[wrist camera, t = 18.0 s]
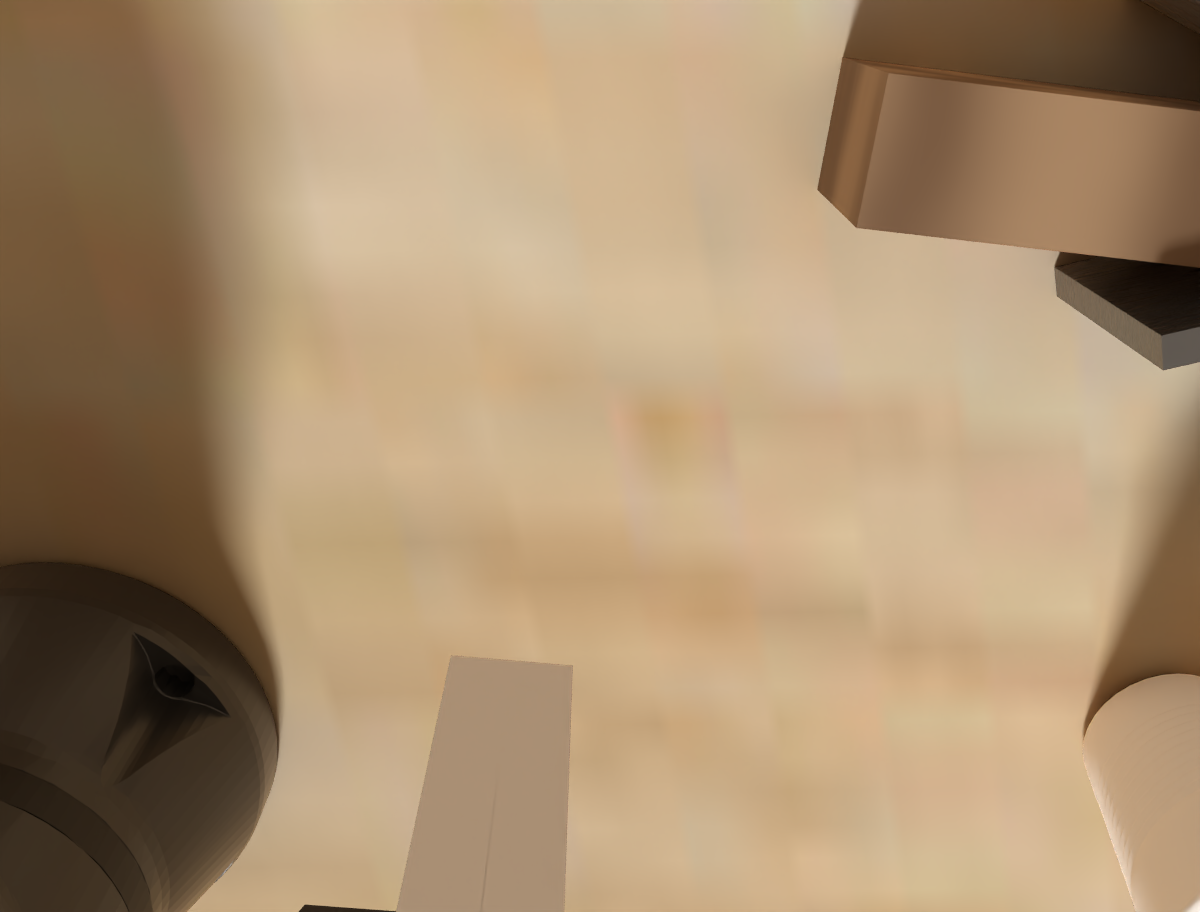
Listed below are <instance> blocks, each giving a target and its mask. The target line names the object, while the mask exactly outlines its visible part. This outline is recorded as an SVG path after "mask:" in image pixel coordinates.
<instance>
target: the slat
mask: <svg viewBox="0 0 1200 912" xmlns="http://www.w3.org/2000/svg"><path fill="white" fill-rule="evenodd" d="M817 190H818V191H819V192H820V193H821V194H822V195H823V196H824V197H825V198H826V199H827V200H828V201H830V202H831V203H832V204H833V205H834V206H835V207H836V208H837V209H838V210H839V211H840V212H841V213H842V214H843V215H844V216H845V217H846V218H847V219H848V220H849V221H850V222H851V223H852V224H853V225H854V226H855V227H856V228H862V229H871V230H879V231H888V232H897V233H905V234H914V235H923V236H931V237H940V238H948V239H957V240H966V241H974V242H983V243H991V244H1000V245H1009V246H1017V247H1026V248H1035V249H1043V250H1052V251H1060V252H1069V253H1078V254H1086V255H1095V256H1104V257H1112V258H1121V259H1129V260H1138V261H1147V262H1155V263H1164V264H1172V265H1181V266H1190V267H1198V268H1200V102H1198V101H1190V100H1182V99H1174V98H1166V97H1158V96H1150V95H1142V94H1134V93H1126V92H1118V91H1109V90H1101V89H1093V88H1085V87H1077V86H1069V85H1061V84H1053V83H1045V82H1037V81H1029V80H1021V79H1012V78H1004V77H996V76H988V75H980V74H972V73H964V72H956V71H948V70H940V69H932V68H923V67H915V66H907V65H899V64H891V63H883V62H875V61H867V60H859V59H851V58H842V63H841V69H840V74H839V79H838V84H837V90H836V95H835V100H834V105H833V111H832V116H831V121H830V126H829V132H828V137H827V142H826V147H825V153H824V158H823V163H822V168H821V174H820V179H819V184H818V189H817Z"/></svg>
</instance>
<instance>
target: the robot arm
mask: <svg viewBox="0 0 1200 912" xmlns="http://www.w3.org/2000/svg"><path fill="white" fill-rule="evenodd" d="M572 671H573V666H572V665H560V664H548V663H536V662H524V661H512V660H500V659H488V658H476V657H464V656H452V655H451V658H450V662H449V667H448V672H447V677H446V681H445V686H444V691H443V695H442V700H441V705H440V709H439V714H438V719H437V723H436V728H435V733H434V737H433V742H432V747H431V751H430V756H429V761H428V765H427V770H426V775H425V779H424V784H423V789H422V793H421V798H420V803H419V807H418V812H417V817H416V821H415V826H414V831H413V836H412V840H411V845H410V850H409V854H408V859H407V864H406V868H405V873H404V878H403V882H402V887H401V892H400V896H399V901H398V906H397V910H396V911H383V910H370V909H356V908H343V907H329V906H316V905H304V906H303V907H302V909H301V910H300V911H299V912H564V903H565V874H566V845H567V816H568V787H569V758H570V729H571V700H572ZM276 765H277V735H276V729H275V723H274V719H273V715H272V712H271V709H270V706H269V703H268V700H267V698H266V695H265V693H264V691H263V689H262V687H261V685H260V683H259V681H258V679H257V677H256V676H255V674H254V672H253V671H252V669H251V668H250V666H249V665H248V663H247V662H246V661H245V659H244V658H243V657H242V655H241V654H240V653H239V652H238V650H237V649H236V648H235V647H234V646H233V645H232V643H231V642H230V641H229V640H228V639H227V638H226V637H225V636H224V635H223V634H222V633H221V632H220V631H219V630H217V629H216V628H215V627H214V626H213V625H212V624H211V623H210V622H208V621H207V620H206V619H204V618H203V617H202V616H201V615H199V614H198V613H197V612H195V611H194V610H192V609H191V608H189V607H188V606H186V605H185V604H183V603H182V602H180V601H178V600H177V599H175V598H173V597H172V596H170V595H168V594H166V593H164V592H162V591H160V590H158V589H156V588H154V587H152V586H149V585H147V584H145V583H143V582H140V581H137V580H135V579H132V578H129V577H126V576H123V575H120V574H117V573H113V572H110V571H106V570H101V569H97V568H92V567H86V566H81V565H72V564H61V563H29V564H17V565H11V566H4V567H0V912H187V911H188V910H189V909H190V908H191V907H192V906H193V905H194V904H195V903H196V901H197V900H198V899H199V898H200V897H201V896H202V895H203V894H204V893H205V892H206V891H207V890H208V889H209V888H210V887H211V885H212V884H213V883H215V882H216V881H217V880H218V879H219V878H220V877H221V876H222V875H223V874H224V873H225V872H226V871H227V870H228V869H229V868H230V867H231V866H232V864H233V863H234V862H235V861H236V860H237V858H238V857H239V855H240V854H241V852H242V851H243V849H244V848H245V846H246V845H247V843H248V841H249V840H250V838H251V836H252V834H253V832H254V830H255V828H256V825H257V823H258V820H259V818H260V815H261V813H262V811H263V808H264V806H265V803H266V801H267V798H268V796H269V793H270V790H271V787H272V784H273V781H274V776H275V772H276Z"/></svg>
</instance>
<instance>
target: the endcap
mask: <svg viewBox="0 0 1200 912" xmlns="http://www.w3.org/2000/svg"><path fill="white" fill-rule="evenodd" d="M1140 1H1142V2H1144V3H1146V4H1147V5H1149V6H1151V7H1153V8H1154V9H1156V10H1158V11H1159V12H1161V13H1163V14H1165V15H1166V16H1168V17H1170V18H1172V19H1173V20H1175V21H1177V22H1179V23H1180V24H1182V25H1184V26H1185V27H1187V28H1189V29H1191V30H1192V31H1194V32H1196V33H1198V34H1199V35H1200V0H1140ZM1054 268H1055V278H1056V289H1057V297H1059V298H1060V299H1062V300H1063V301H1065V302H1066V303H1067V304H1069V305H1070V306H1072V307H1073V308H1075V309H1076V310H1077V311H1079V312H1080V313H1082V314H1083V315H1085V316H1086V317H1088V318H1089V319H1090V320H1092V321H1093V322H1095V323H1096V324H1098V325H1099V326H1100V327H1102V328H1103V329H1105V330H1106V331H1108V332H1109V333H1110V334H1112V335H1113V336H1115V337H1116V338H1118V339H1119V340H1120V341H1122V342H1123V343H1125V344H1126V345H1128V346H1129V347H1130V348H1132V349H1133V350H1135V351H1136V352H1138V353H1139V354H1140V355H1142V356H1143V357H1145V358H1146V359H1148V360H1149V361H1151V362H1152V363H1153V364H1155V365H1156V366H1158V367H1159V368H1161V369H1162V370H1167V369H1171V368H1176V367H1180V366H1184V365H1189V364H1193V363H1197V362H1200V268H1198V267H1190V266H1181V265H1172V264H1164V263H1155V262H1147V261H1138V260H1129V259H1121V258H1112V257H1104V256H1100V257H1096V258H1092V259H1087V260H1083V261H1079V262H1075V263H1071V264H1067V265H1062V266H1058V267H1054Z"/></svg>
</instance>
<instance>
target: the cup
mask: <svg viewBox="0 0 1200 912" xmlns="http://www.w3.org/2000/svg"><path fill="white" fill-rule="evenodd" d="M1083 759H1084V765H1085V768H1086V771H1087V773H1088V776H1089V779H1090V782H1091V785H1092V788H1093V791H1094V794H1095V796H1096V799H1097V801H1098V804H1099V806H1100V810H1101V812H1102V815H1103V819H1104V821H1105V823H1106V826H1107V830H1108V832H1109V834H1110V839H1111V841H1112V843H1113V846H1114V850H1115V852H1116V855H1117V859H1118V861H1119V864H1120V866H1121V871H1122V873H1123V875H1124V877H1125V882H1126V884H1127V886H1128V888H1129V893H1130V895H1131V898H1132V901H1133V906H1134V908H1135V911H1136V912H1200V676H1196V675H1191V674H1166V675H1159V676H1155V677H1151V678H1147V679H1144V680H1142V681H1139V682H1137V683H1135V684H1132V685H1130V686H1128V687H1127V688H1125V689H1123V690H1122V691H1120V692H1118V693H1117V694H1115V695H1114V696H1113V697H1112V698H1111V699H1109V700H1108V701H1107V702H1106V703H1105V704H1104V705H1103V706H1102V707H1101V708H1100V710H1099V711H1098V712H1097V713H1096V714H1095V716H1094V717H1093V719H1092V721H1091V723H1090V724H1089V726H1088V728H1087V731H1086V734H1085V737H1084V742H1083Z"/></svg>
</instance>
